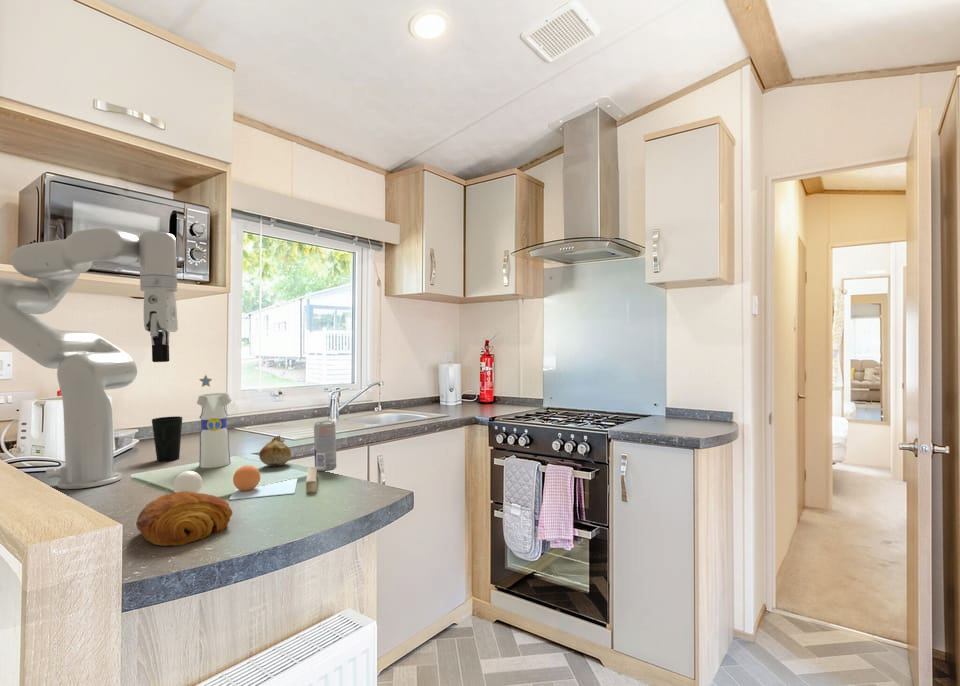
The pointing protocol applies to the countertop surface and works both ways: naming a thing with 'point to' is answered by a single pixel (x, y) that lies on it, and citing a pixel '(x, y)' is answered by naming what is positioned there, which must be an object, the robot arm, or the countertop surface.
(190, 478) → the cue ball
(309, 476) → the stop rail
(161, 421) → the cup
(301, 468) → the countertop surface
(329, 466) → the energy drink
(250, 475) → the brown egg
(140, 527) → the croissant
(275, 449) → the onion
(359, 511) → the countertop surface
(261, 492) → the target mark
